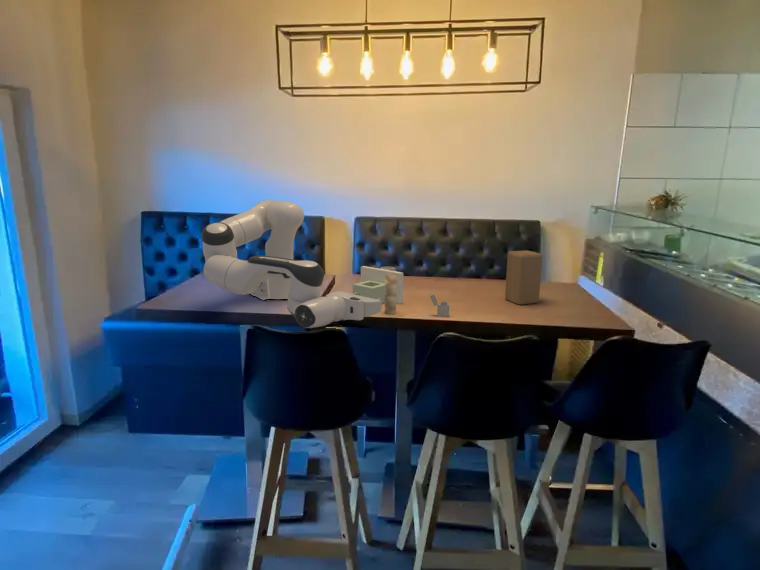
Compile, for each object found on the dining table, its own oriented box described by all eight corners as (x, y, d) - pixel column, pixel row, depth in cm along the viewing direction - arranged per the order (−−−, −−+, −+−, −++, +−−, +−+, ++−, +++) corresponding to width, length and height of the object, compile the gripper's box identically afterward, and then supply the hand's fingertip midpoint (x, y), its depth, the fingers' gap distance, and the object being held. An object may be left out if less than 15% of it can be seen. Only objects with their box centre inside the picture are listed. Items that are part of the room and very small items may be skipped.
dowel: (382, 315, 184) (382, 275, 181) (389, 313, 187) (390, 273, 184) (391, 318, 182) (391, 276, 178) (398, 315, 185) (398, 275, 181)
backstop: (327, 307, 195) (327, 273, 192) (363, 296, 211) (364, 265, 208) (367, 317, 182) (367, 281, 179) (402, 305, 198) (403, 272, 195)
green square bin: (352, 302, 198) (352, 284, 196) (369, 297, 206) (369, 280, 204) (372, 306, 192) (372, 288, 190) (389, 301, 199) (389, 283, 198)
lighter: (448, 315, 186) (449, 294, 184) (448, 316, 184) (449, 295, 182) (429, 314, 187) (429, 293, 185) (428, 315, 185) (429, 294, 183)
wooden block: (524, 297, 212) (527, 249, 208) (539, 303, 203) (543, 253, 199) (503, 299, 209) (507, 251, 204) (518, 305, 200) (522, 255, 195)
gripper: (318, 309, 170) (346, 301, 181) (364, 321, 158) (392, 312, 168) (317, 291, 169) (346, 284, 179) (364, 301, 156) (392, 293, 167)
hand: (368, 297), depth 174 cm, fingers open, 8 cm apart
